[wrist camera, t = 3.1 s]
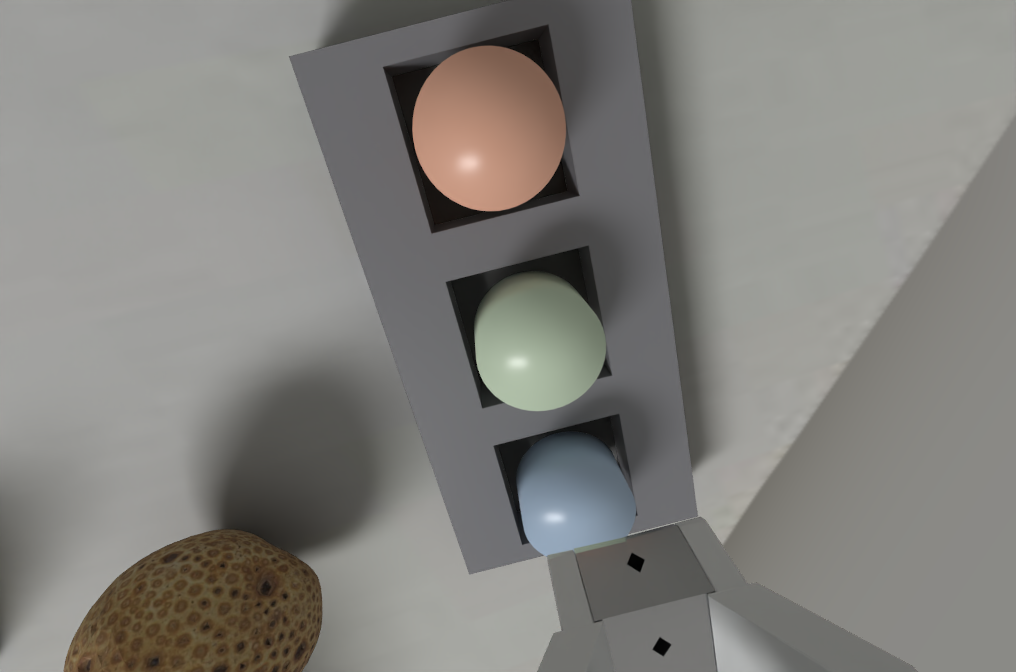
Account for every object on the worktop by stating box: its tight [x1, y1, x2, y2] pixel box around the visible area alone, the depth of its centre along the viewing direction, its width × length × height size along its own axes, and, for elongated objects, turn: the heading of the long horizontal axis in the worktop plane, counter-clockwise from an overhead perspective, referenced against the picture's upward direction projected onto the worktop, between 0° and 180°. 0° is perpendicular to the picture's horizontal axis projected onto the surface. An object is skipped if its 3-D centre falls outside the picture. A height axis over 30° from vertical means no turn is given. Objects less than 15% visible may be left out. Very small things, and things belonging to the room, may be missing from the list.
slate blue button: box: [516, 431, 636, 556], centre depth 24 cm, size 5×5×3 cm
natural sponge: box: [64, 529, 322, 672], centre depth 23 cm, size 9×9×10 cm
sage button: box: [474, 271, 606, 411], centre depth 21 cm, size 5×5×3 cm
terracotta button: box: [412, 46, 566, 211], centre depth 18 cm, size 5×5×3 cm
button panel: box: [289, 0, 698, 574], centre depth 23 cm, size 24×12×2 cm, turn 13°
